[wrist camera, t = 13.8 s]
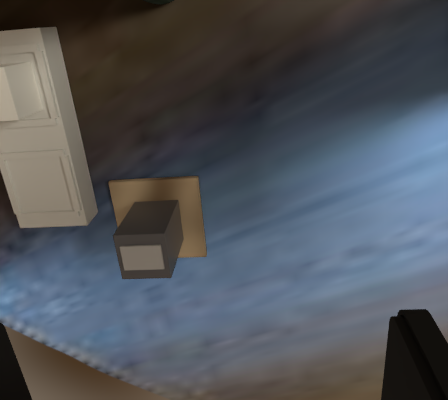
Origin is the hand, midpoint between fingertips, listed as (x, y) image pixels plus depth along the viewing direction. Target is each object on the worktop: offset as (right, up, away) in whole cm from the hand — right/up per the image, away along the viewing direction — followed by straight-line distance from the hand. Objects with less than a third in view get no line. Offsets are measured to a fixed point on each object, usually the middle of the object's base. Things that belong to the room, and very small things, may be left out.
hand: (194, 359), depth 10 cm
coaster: (-6, +2, +33) cm, 33 cm away
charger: (-6, +2, +32) cm, 33 cm away
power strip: (-17, +11, +30) cm, 36 cm away
